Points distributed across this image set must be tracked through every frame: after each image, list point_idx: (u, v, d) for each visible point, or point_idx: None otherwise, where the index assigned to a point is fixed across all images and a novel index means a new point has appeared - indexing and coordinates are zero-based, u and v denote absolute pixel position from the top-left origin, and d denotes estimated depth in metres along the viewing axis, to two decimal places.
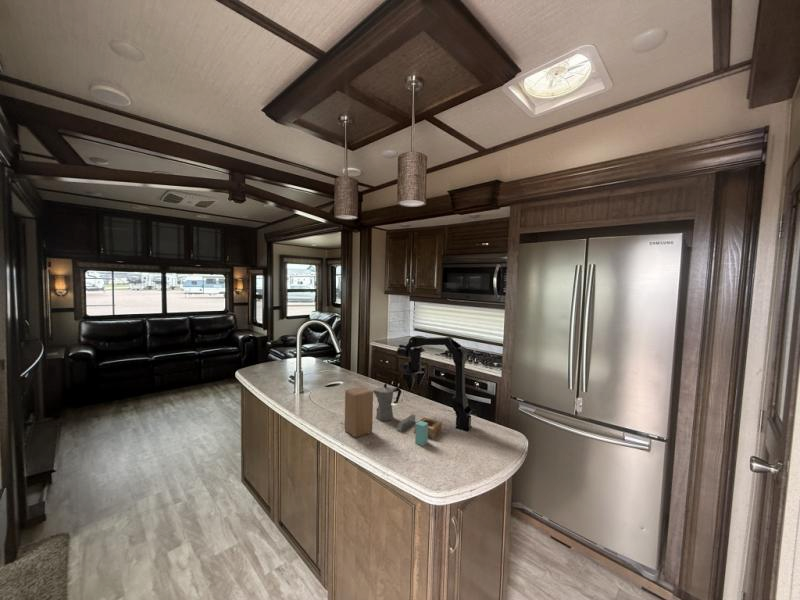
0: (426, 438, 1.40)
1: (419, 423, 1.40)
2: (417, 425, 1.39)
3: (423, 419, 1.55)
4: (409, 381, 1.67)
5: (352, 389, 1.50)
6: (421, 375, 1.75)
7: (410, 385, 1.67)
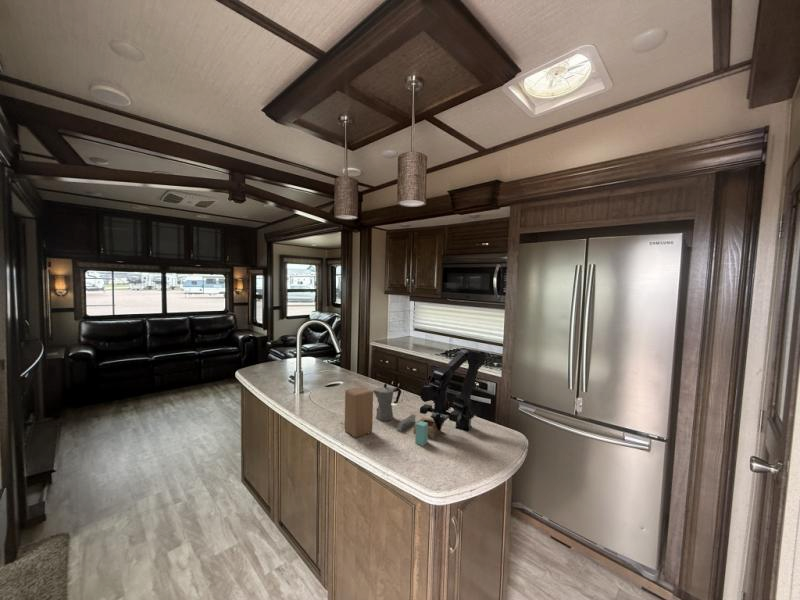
0: (426, 438, 1.40)
1: (419, 423, 1.40)
2: (417, 425, 1.39)
3: (422, 419, 1.55)
4: None
5: (352, 389, 1.50)
6: None
7: None
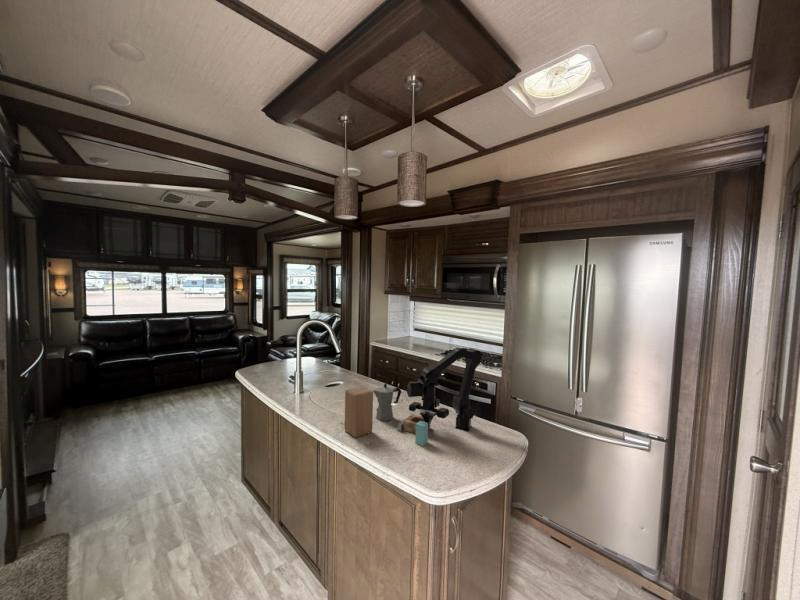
0: (426, 438, 1.40)
1: (419, 423, 1.40)
2: (417, 425, 1.39)
3: (412, 416, 1.58)
4: None
5: (352, 389, 1.50)
6: None
7: None
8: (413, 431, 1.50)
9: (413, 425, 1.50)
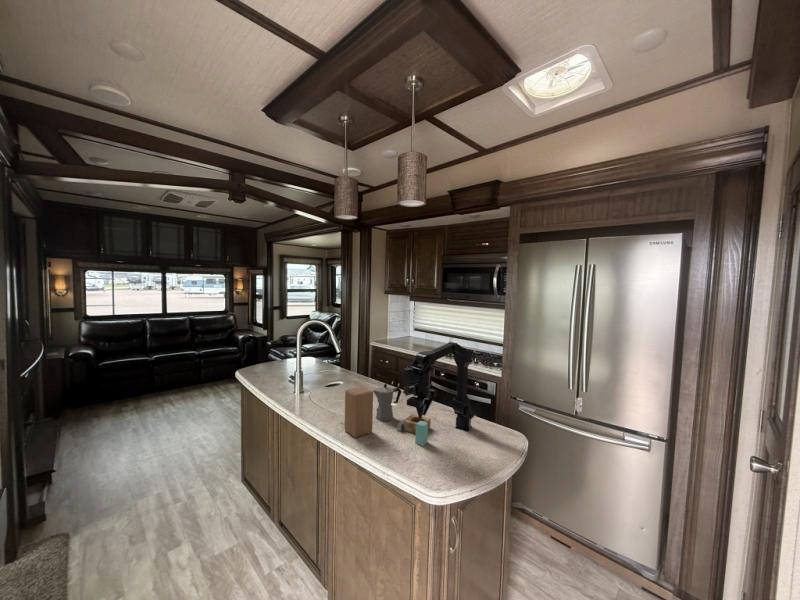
0: (426, 438, 1.40)
1: (419, 423, 1.40)
2: (417, 425, 1.39)
3: (412, 416, 1.58)
4: (419, 407, 1.37)
5: (352, 389, 1.50)
6: (427, 402, 1.41)
7: (420, 412, 1.37)
8: (413, 431, 1.50)
9: (413, 425, 1.50)
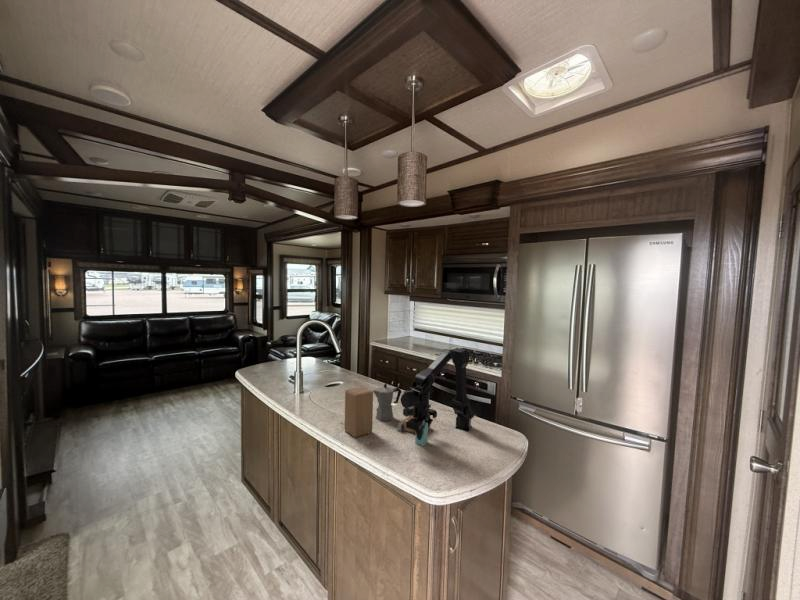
0: (426, 438, 1.40)
1: None
2: None
3: (412, 416, 1.58)
4: None
5: (352, 389, 1.50)
6: None
7: (419, 434, 1.37)
8: (413, 431, 1.50)
9: None
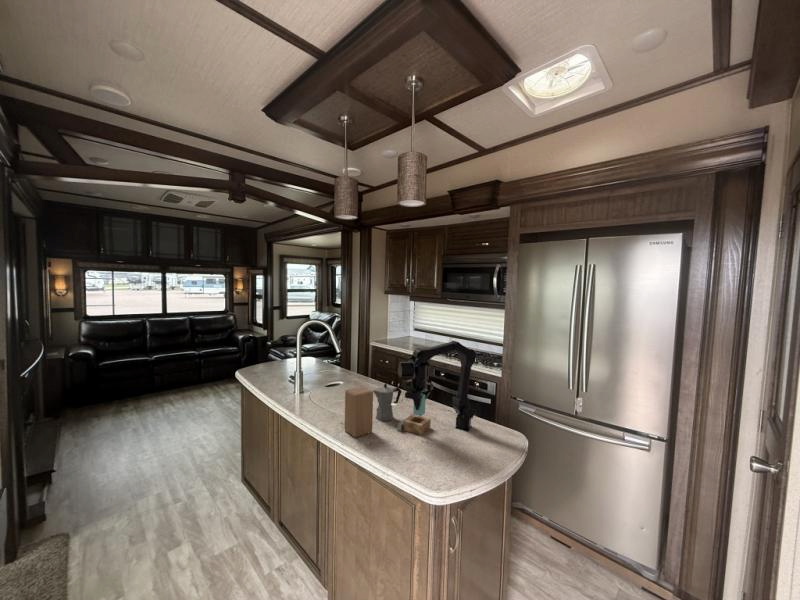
0: (424, 408, 1.49)
1: None
2: None
3: (412, 416, 1.58)
4: (416, 400, 1.46)
5: (352, 389, 1.50)
6: None
7: (417, 404, 1.46)
8: (413, 431, 1.50)
9: (413, 425, 1.50)
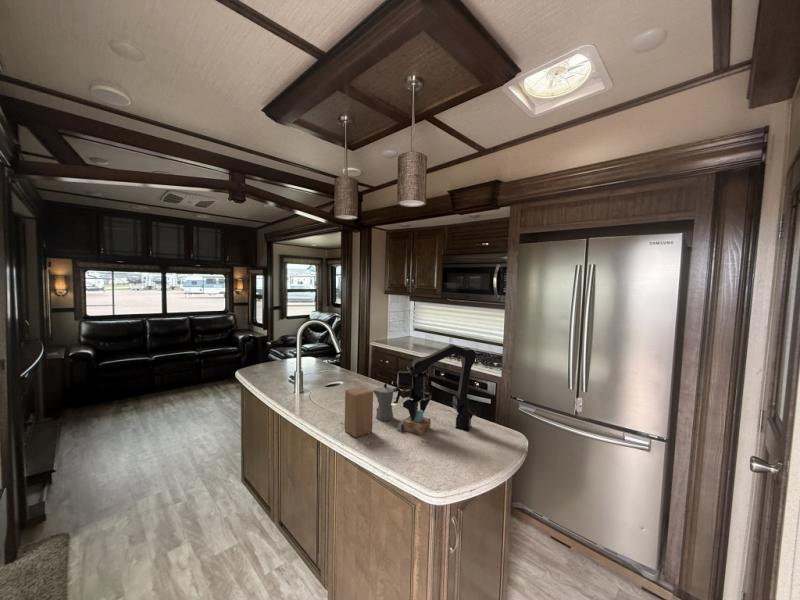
0: None
1: None
2: None
3: None
4: (411, 411, 1.49)
5: (352, 389, 1.50)
6: (425, 402, 1.57)
7: (412, 415, 1.49)
8: (413, 431, 1.50)
9: (413, 425, 1.50)
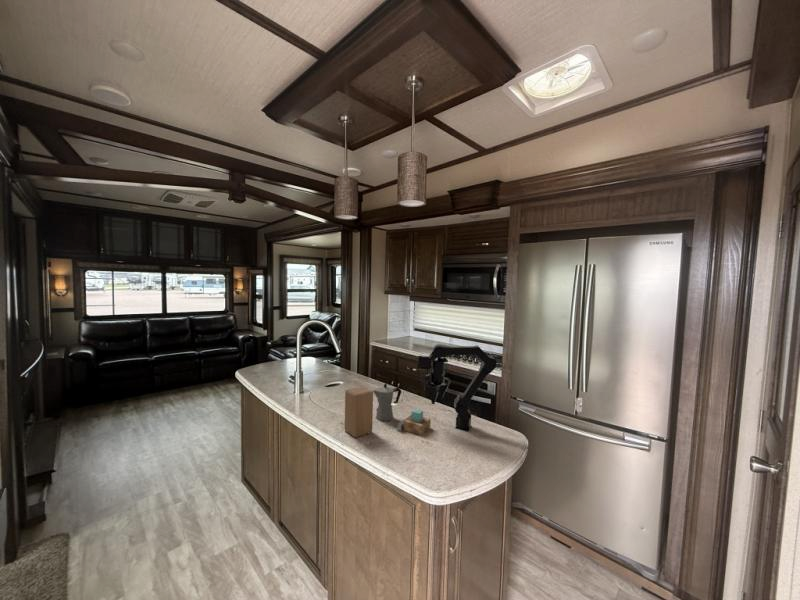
0: None
1: (415, 411, 1.54)
2: (413, 413, 1.53)
3: None
4: (432, 394, 1.53)
5: (352, 389, 1.50)
6: (444, 387, 1.62)
7: (433, 399, 1.53)
8: (413, 431, 1.50)
9: (413, 425, 1.50)
